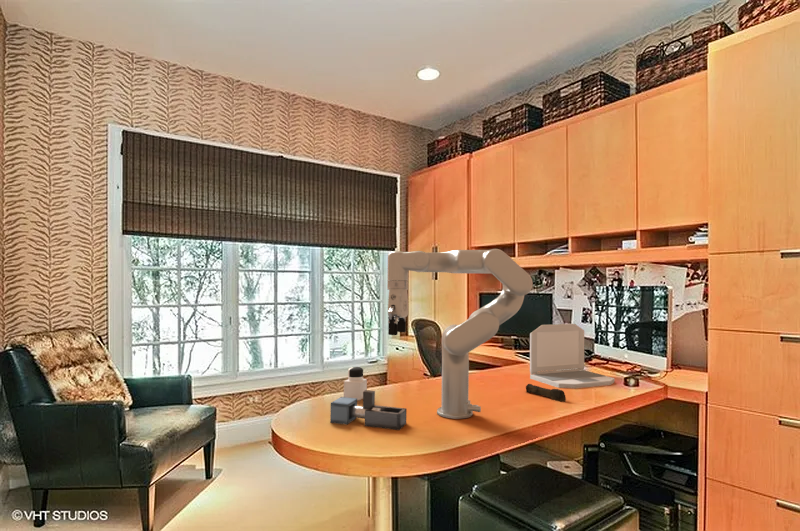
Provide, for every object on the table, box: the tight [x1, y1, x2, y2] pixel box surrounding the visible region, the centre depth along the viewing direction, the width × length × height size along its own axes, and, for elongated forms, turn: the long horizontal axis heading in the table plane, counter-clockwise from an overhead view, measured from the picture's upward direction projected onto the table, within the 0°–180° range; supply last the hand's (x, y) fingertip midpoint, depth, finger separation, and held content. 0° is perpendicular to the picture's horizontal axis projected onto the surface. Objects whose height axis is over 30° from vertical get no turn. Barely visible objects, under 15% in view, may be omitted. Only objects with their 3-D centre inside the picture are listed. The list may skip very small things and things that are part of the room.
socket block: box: [329, 396, 358, 425], centre depth 155 cm, size 6×8×6 cm
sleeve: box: [364, 404, 407, 431], centre depth 151 cm, size 12×7×5 cm, turn 72°
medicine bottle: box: [343, 366, 368, 401], centre depth 184 cm, size 7×7×12 cm
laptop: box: [529, 323, 616, 389], centre depth 220 cm, size 33×24×26 cm
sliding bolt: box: [349, 389, 382, 420], centre depth 153 cm, size 14×4×9 cm, turn 72°
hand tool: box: [525, 383, 567, 403], centre depth 189 cm, size 19×4×5 cm, turn 30°
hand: (397, 333), depth 165 cm, fingers open, 9 cm apart
